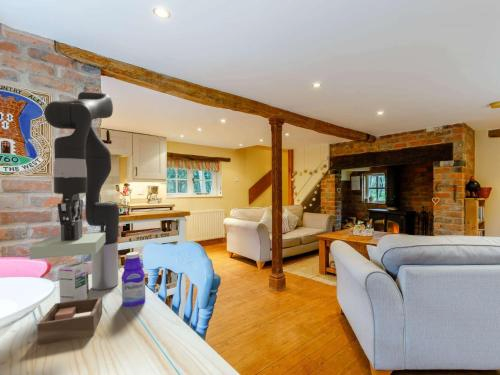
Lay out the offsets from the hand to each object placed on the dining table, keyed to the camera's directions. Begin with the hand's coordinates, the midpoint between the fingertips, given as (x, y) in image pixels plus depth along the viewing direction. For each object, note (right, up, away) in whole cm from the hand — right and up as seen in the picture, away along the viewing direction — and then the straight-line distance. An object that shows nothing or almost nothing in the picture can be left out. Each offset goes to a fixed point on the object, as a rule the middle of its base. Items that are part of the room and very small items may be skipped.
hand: (72, 237), depth 72 cm
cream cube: (+3, -25, -1) cm, 25 cm away
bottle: (+10, -26, +16) cm, 32 cm away
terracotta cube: (-3, -25, +2) cm, 25 cm away
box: (0, -26, 0) cm, 26 cm away
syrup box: (-8, -26, +13) cm, 30 cm away
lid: (0, -3, 0) cm, 3 cm away
